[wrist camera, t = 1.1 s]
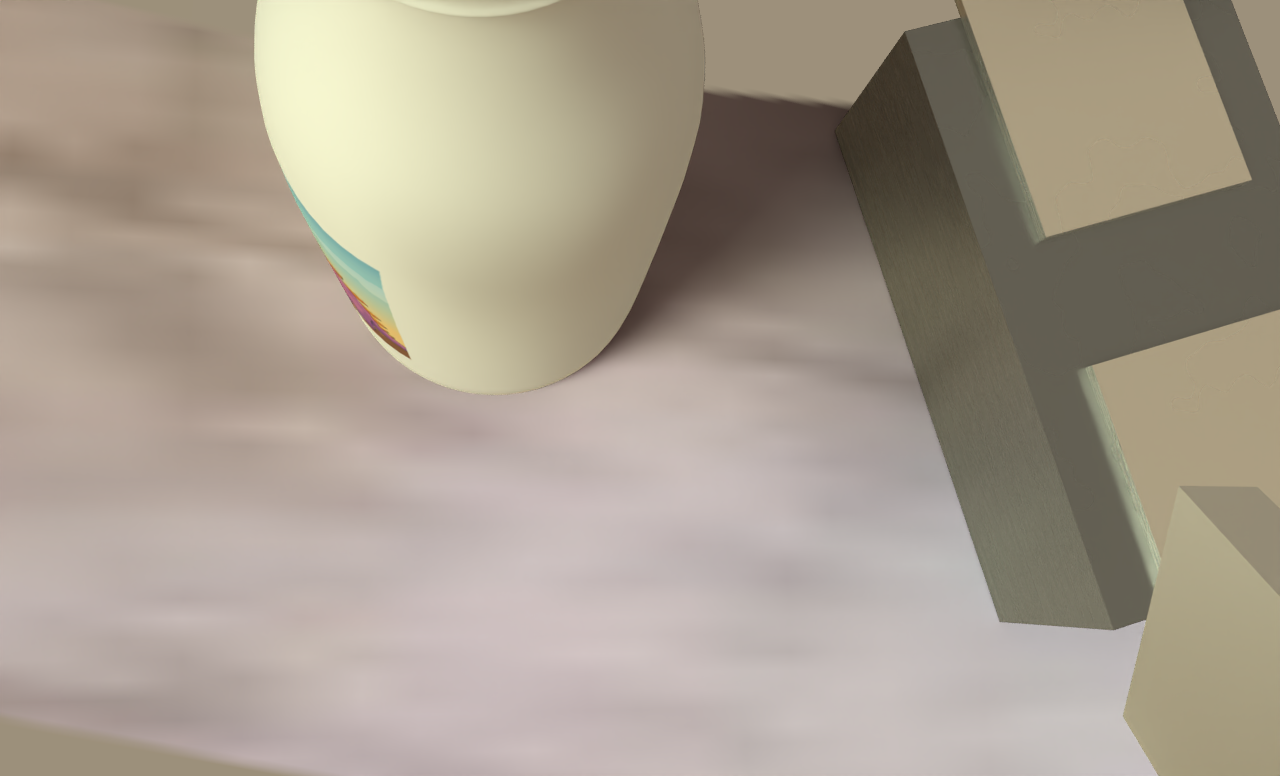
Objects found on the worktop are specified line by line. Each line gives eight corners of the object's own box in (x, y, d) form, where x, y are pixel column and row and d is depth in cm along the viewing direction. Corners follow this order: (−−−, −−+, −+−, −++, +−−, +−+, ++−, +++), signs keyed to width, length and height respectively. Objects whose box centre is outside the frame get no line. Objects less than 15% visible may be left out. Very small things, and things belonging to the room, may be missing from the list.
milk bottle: (664, 152, 32) (900, -523, 13) (609, 427, 31) (778, 149, 11) (384, 89, 32) (174, -717, 12) (315, 366, 30) (-51, -39, 11)
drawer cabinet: (829, 114, 33) (902, 5, 27) (1099, 45, 34) (1228, -74, 28) (1006, 640, 31) (1128, 654, 25) (1285, 547, 32) (1469, 538, 26)
